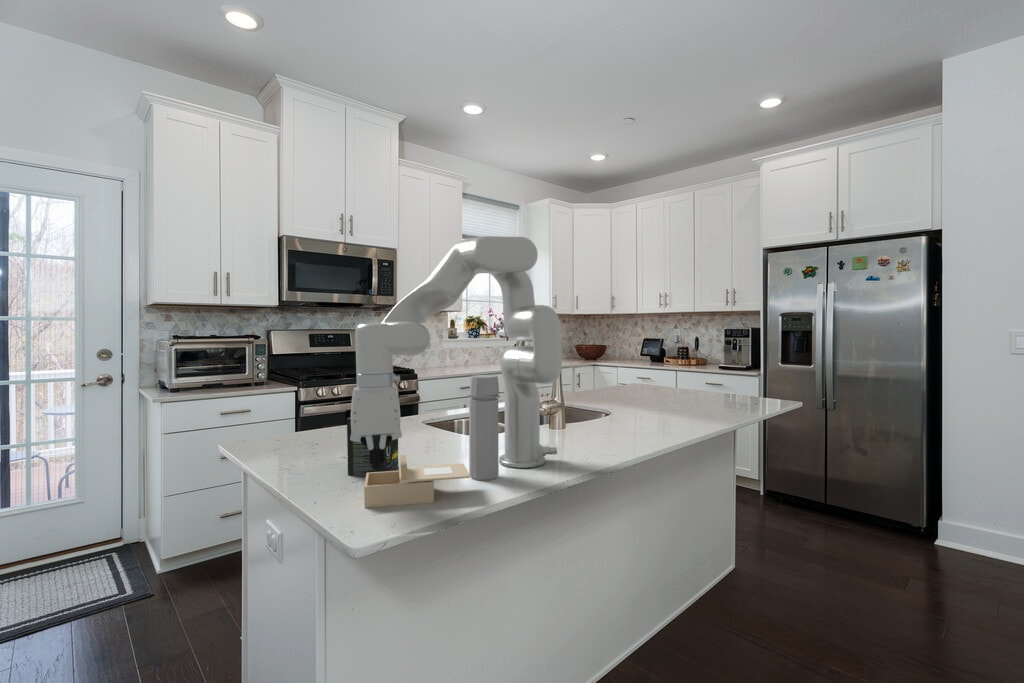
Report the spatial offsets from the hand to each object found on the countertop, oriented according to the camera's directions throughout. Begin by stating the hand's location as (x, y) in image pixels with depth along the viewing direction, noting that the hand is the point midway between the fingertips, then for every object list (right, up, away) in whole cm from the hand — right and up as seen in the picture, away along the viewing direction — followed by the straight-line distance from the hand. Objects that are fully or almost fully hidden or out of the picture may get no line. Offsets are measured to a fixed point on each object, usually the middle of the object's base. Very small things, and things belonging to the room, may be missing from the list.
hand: (377, 466), depth 110 cm
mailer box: (+4, -7, +1) cm, 9 cm away
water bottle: (+22, -7, +17) cm, 29 cm away
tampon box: (-6, -7, +21) cm, 23 cm away
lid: (+12, -2, +3) cm, 12 cm away
